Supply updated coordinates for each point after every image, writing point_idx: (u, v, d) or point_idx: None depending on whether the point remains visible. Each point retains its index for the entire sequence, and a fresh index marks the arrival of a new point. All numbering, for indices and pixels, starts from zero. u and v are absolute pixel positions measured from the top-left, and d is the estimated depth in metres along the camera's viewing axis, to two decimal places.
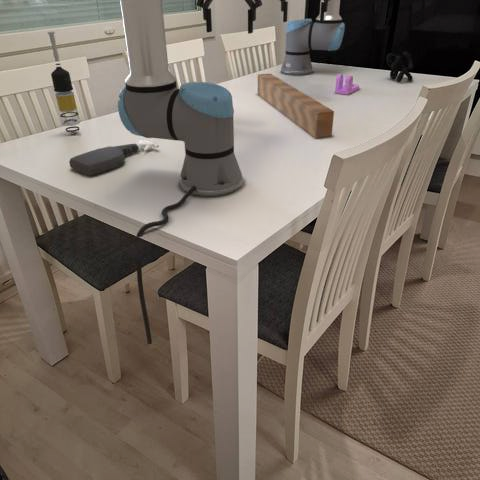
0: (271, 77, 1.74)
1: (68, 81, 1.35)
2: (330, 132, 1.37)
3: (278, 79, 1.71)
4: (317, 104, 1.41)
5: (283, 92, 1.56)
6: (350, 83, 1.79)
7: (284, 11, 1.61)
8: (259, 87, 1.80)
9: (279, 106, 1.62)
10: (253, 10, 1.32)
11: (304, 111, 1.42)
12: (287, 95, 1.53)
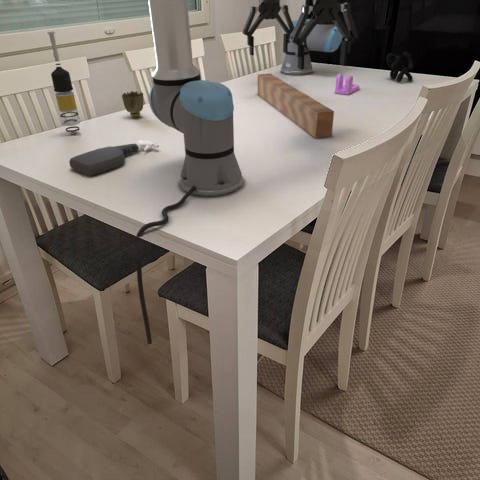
0: (271, 77, 1.74)
1: (68, 81, 1.35)
2: (330, 132, 1.37)
3: (278, 79, 1.71)
4: (317, 104, 1.41)
5: (283, 92, 1.56)
6: (350, 83, 1.79)
7: None
8: (259, 87, 1.80)
9: (279, 106, 1.62)
10: (349, 42, 1.29)
11: (304, 111, 1.42)
12: (287, 95, 1.53)
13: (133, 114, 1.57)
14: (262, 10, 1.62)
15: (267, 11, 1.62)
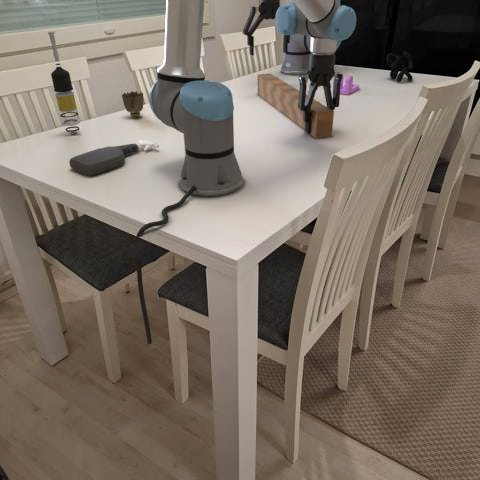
0: (271, 77, 1.74)
1: (68, 81, 1.35)
2: (330, 132, 1.37)
3: (278, 79, 1.71)
4: (317, 104, 1.41)
5: (283, 92, 1.56)
6: (350, 83, 1.79)
7: None
8: (259, 87, 1.80)
9: (279, 106, 1.62)
10: None
11: None
12: (287, 95, 1.53)
13: (133, 114, 1.57)
14: (262, 10, 1.62)
15: (267, 11, 1.62)
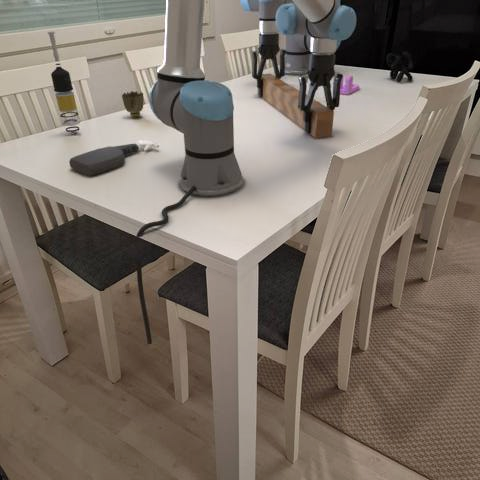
0: (271, 77, 1.74)
1: (68, 81, 1.35)
2: (330, 132, 1.37)
3: (278, 79, 1.71)
4: (317, 104, 1.41)
5: (283, 92, 1.56)
6: (350, 83, 1.79)
7: None
8: None
9: (279, 106, 1.62)
10: None
11: None
12: (287, 95, 1.53)
13: (133, 114, 1.57)
14: (261, 51, 1.69)
15: (267, 52, 1.69)
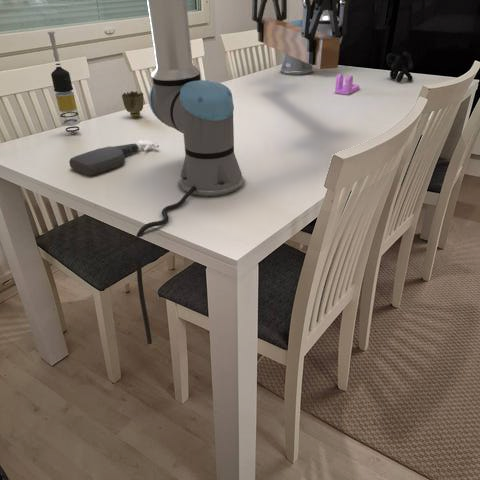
0: (272, 20, 1.64)
1: (68, 81, 1.35)
2: (336, 63, 1.27)
3: (280, 21, 1.60)
4: (322, 34, 1.30)
5: (285, 28, 1.45)
6: (350, 83, 1.79)
7: None
8: None
9: (281, 46, 1.51)
10: None
11: None
12: (289, 30, 1.42)
13: (133, 114, 1.57)
14: None
15: None
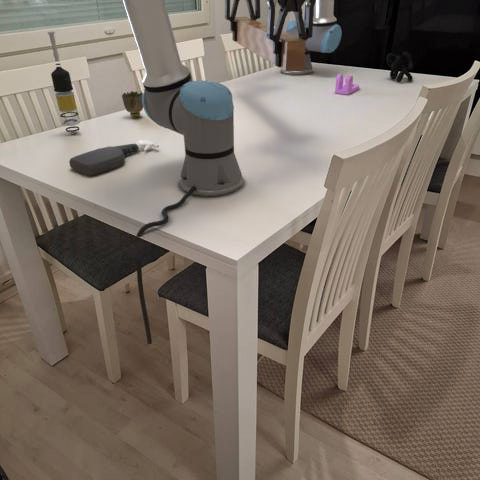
0: (246, 19, 1.62)
1: (68, 81, 1.35)
2: (302, 65, 1.25)
3: (253, 20, 1.58)
4: (289, 36, 1.28)
5: (255, 29, 1.44)
6: (350, 83, 1.79)
7: None
8: None
9: (252, 46, 1.50)
10: None
11: None
12: (259, 31, 1.41)
13: (133, 114, 1.57)
14: None
15: None
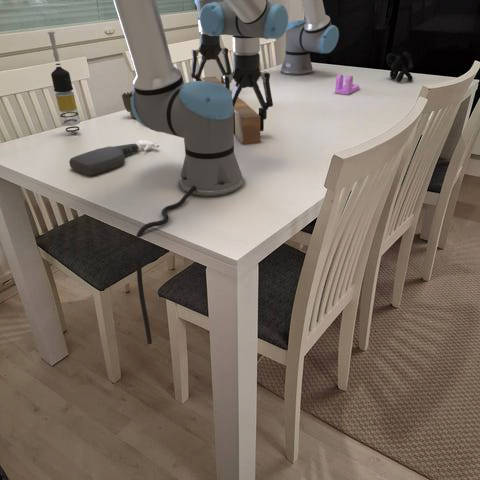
0: (214, 80, 1.71)
1: (68, 81, 1.35)
2: (258, 138, 1.34)
3: (220, 83, 1.68)
4: (247, 109, 1.37)
5: None
6: (350, 83, 1.79)
7: None
8: None
9: None
10: (265, 110, 1.35)
11: None
12: None
13: (133, 114, 1.57)
14: (202, 51, 1.65)
15: (207, 52, 1.65)
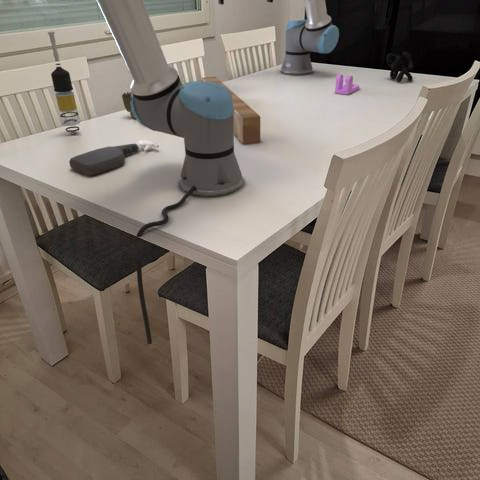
0: (214, 80, 1.71)
1: (68, 81, 1.35)
2: (258, 138, 1.34)
3: (220, 83, 1.68)
4: (247, 109, 1.37)
5: None
6: (350, 83, 1.79)
7: None
8: None
9: None
10: None
11: (234, 116, 1.38)
12: None
13: None
14: None
15: None
